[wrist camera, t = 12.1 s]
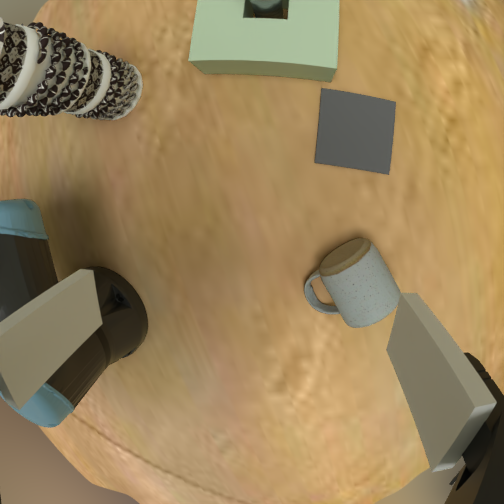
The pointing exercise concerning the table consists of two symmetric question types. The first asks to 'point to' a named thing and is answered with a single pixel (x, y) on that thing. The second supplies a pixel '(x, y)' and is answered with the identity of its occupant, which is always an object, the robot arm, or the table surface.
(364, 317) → the ceramic mug
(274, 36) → the socket block
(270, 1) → the pin
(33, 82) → the decorative candle
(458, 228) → the table surface
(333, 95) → the mat
